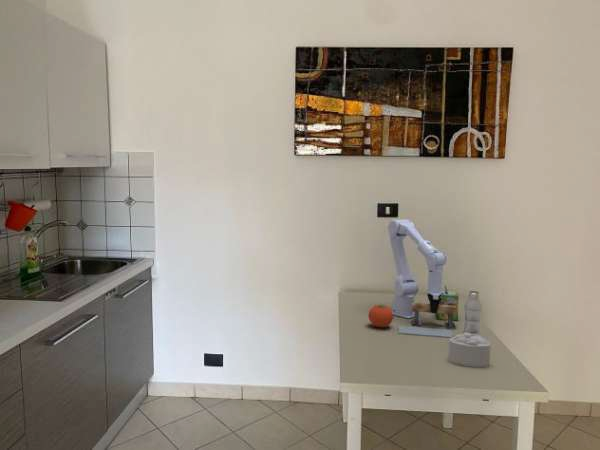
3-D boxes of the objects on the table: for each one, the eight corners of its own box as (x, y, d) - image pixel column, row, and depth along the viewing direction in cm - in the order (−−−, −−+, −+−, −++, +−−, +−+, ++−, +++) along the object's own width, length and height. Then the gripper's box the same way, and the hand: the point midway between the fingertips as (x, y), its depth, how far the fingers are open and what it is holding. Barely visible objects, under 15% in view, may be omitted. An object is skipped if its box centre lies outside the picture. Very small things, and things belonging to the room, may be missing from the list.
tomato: (397, 327, 201) (398, 303, 200) (383, 332, 194) (384, 308, 193) (377, 321, 208) (377, 299, 207) (363, 326, 201) (364, 303, 200)
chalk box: (457, 321, 211) (459, 288, 210) (436, 319, 213) (437, 287, 211) (455, 315, 220) (457, 284, 219) (434, 314, 222) (436, 282, 220)
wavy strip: (412, 311, 204) (412, 304, 204) (411, 309, 207) (412, 302, 207) (456, 314, 201) (456, 307, 201) (455, 312, 204) (455, 305, 203)
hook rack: (411, 325, 203) (412, 312, 203) (411, 321, 210) (411, 308, 209) (455, 329, 200) (456, 315, 199) (454, 324, 206) (454, 311, 205)
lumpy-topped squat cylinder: (491, 367, 160) (493, 342, 159) (452, 365, 160) (453, 340, 160) (481, 355, 170) (483, 332, 169) (444, 354, 171) (445, 330, 170)
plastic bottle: (479, 341, 185) (482, 291, 183) (480, 347, 178) (483, 294, 176) (462, 339, 187) (464, 289, 185) (462, 345, 180) (464, 293, 178)
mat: (398, 333, 192) (398, 332, 192) (398, 327, 201) (398, 325, 201) (452, 338, 188) (452, 336, 188) (450, 331, 197) (450, 329, 197)
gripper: (446, 285, 195) (444, 317, 196) (443, 277, 209) (441, 308, 210) (428, 283, 196) (427, 316, 198) (426, 276, 210) (425, 306, 212)
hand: (433, 312), depth 204 cm, fingers closed on wavy strip, 3 cm apart
